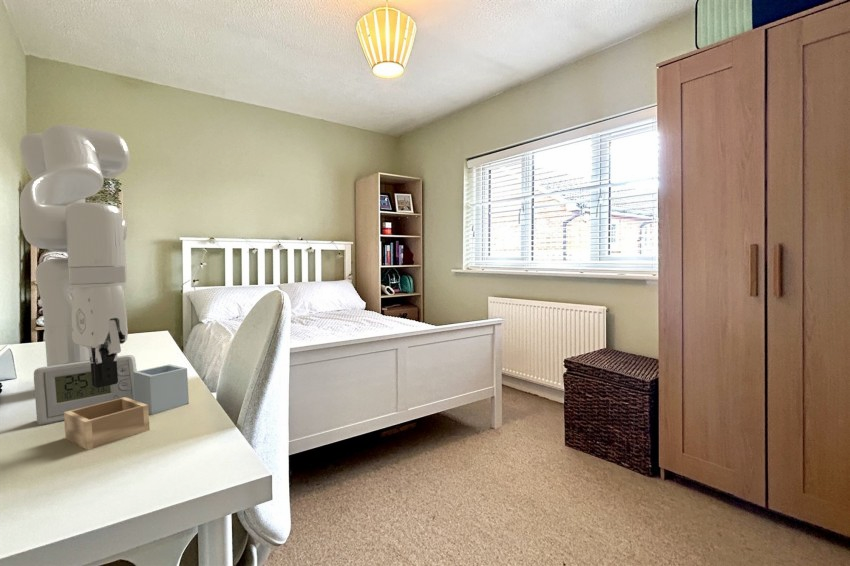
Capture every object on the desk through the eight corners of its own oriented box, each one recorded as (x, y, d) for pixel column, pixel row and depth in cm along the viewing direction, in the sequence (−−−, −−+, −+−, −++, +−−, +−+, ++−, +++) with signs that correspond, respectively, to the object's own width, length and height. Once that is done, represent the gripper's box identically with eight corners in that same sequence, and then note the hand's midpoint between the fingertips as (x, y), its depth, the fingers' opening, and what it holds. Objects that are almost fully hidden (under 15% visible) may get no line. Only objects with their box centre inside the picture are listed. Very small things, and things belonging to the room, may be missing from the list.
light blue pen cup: (135, 411, 85) (133, 371, 85) (171, 400, 91) (169, 364, 91) (152, 417, 81) (149, 376, 81) (189, 406, 87) (186, 368, 87)
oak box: (65, 441, 71) (63, 412, 71) (126, 423, 79) (124, 396, 78) (87, 453, 66) (85, 422, 66) (149, 433, 74) (148, 405, 73)
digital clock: (32, 430, 76) (27, 372, 76) (43, 415, 84) (39, 363, 83) (139, 411, 85) (136, 359, 84) (141, 399, 93) (138, 352, 92)
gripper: (53, 278, 72) (61, 384, 73) (89, 279, 64) (97, 398, 65) (105, 276, 78) (111, 374, 79) (144, 276, 70) (150, 385, 71)
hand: (105, 384), depth 72 cm, fingers closed
